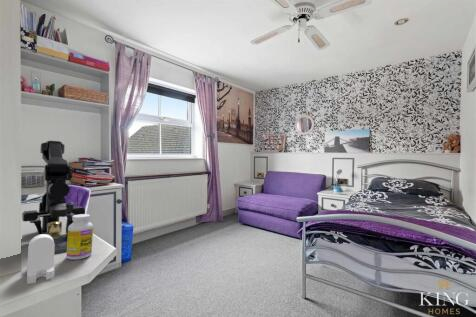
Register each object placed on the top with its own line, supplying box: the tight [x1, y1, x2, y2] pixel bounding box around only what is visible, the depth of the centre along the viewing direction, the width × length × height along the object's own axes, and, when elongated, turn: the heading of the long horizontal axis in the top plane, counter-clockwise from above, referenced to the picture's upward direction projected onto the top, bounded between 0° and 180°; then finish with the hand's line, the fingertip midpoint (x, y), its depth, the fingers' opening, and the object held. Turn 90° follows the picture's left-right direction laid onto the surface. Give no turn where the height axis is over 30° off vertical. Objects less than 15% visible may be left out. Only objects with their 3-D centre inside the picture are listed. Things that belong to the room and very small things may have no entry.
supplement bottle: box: [66, 213, 94, 261], centre depth 75 cm, size 7×7×13 cm
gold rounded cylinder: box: [46, 221, 63, 236], centre depth 91 cm, size 4×4×6 cm
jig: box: [51, 233, 68, 254], centre depth 84 cm, size 14×9×2 cm, turn 46°
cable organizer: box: [26, 233, 55, 285], centre depth 63 cm, size 5×10×10 cm, turn 42°
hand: (54, 235), depth 91 cm, fingers open, 8 cm apart
